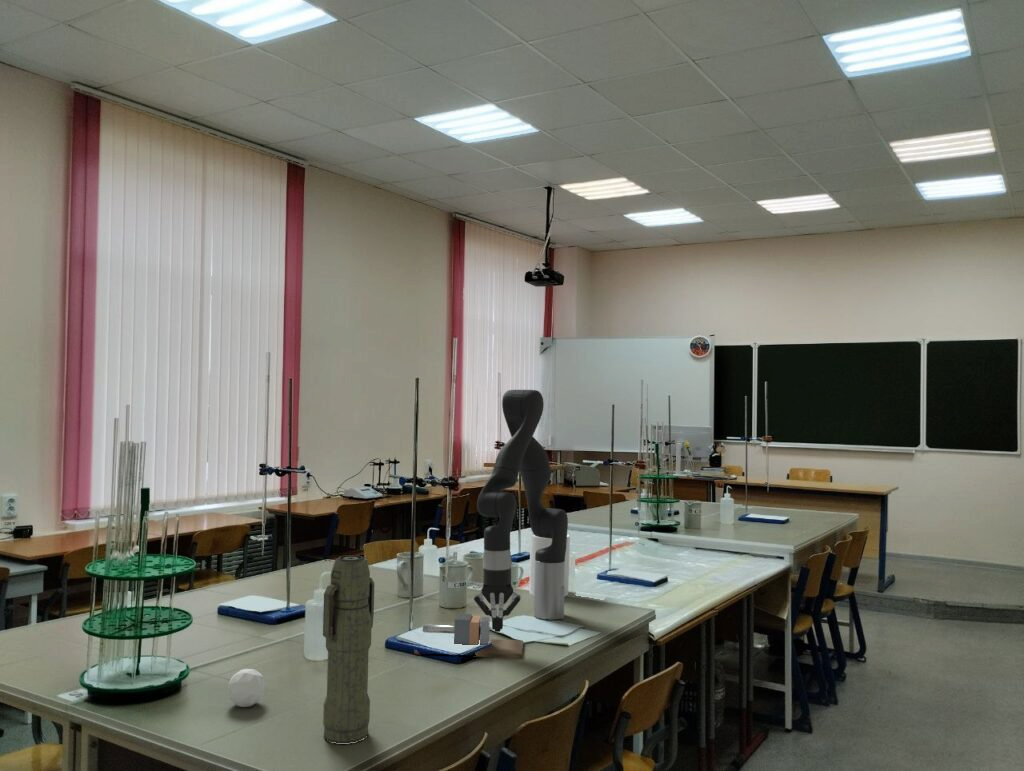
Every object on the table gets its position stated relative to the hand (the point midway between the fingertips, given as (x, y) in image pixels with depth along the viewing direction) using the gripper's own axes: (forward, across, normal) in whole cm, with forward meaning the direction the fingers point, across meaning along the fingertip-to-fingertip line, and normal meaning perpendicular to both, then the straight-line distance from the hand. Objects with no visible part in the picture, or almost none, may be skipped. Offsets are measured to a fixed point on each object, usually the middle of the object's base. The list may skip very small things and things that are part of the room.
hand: (497, 630), depth 214 cm
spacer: (+3, -6, 0) cm, 7 cm away
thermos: (+4, -27, -57) cm, 63 cm away
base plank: (+5, -7, 0) cm, 9 cm away
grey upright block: (+4, -9, 0) cm, 10 cm away
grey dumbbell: (+3, -11, 0) cm, 12 cm away
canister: (+6, +14, +65) cm, 67 cm away
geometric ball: (+4, -52, -44) cm, 68 cm away
